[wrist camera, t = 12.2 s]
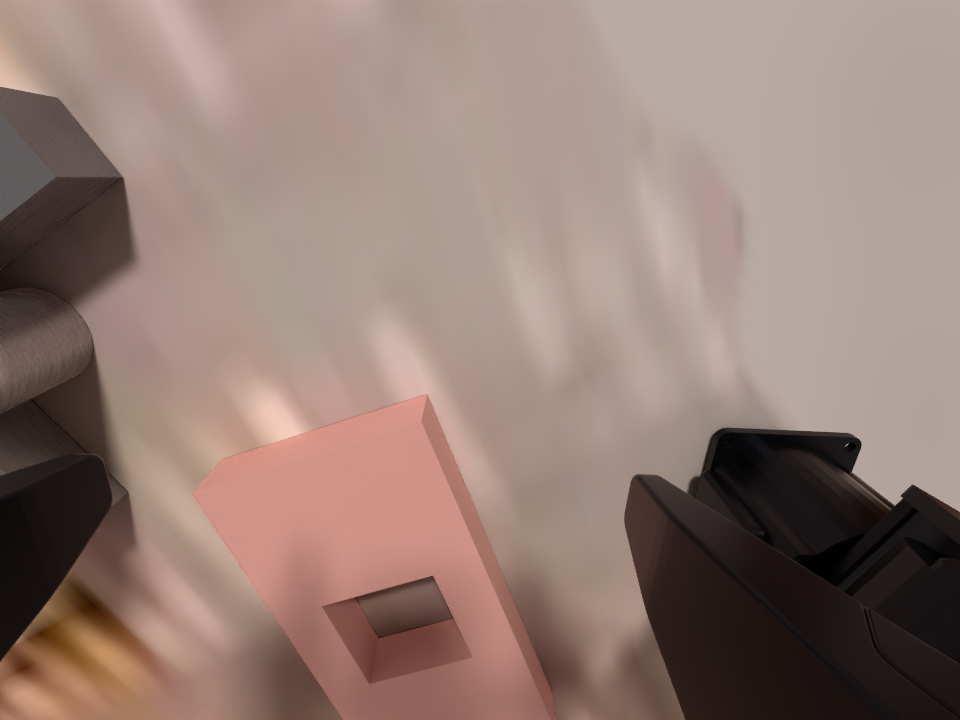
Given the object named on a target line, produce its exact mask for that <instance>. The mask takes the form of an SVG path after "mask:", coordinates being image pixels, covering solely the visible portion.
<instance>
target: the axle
mask: <svg viewBox="0 0 960 720" xmlns="http://www.w3.org/2000/svg"><path fill="white" fill-rule="evenodd" d="M92 354H93V342H92V337H91V334H90V331H89V329H88V327H87V325H86V323H85V321H84V320H83V318H82V317H81V316H80V315H79V313H78V312H77V311H76V310H75V309H74V308H73V307H72V306H71V305H70V304H68V303H67V302H66V301H64V300H63V299H61V298H60V297H58V296H56V295H54V294H52V293H50V292H47V291H44V290H41V289H36V288H27V287H23V288H15V289H11V290H7V291H3V292H0V414H1V413H3V412H5V411H7V410H9V409H11V408H13V407H15V406H17V405H19V404H21V403H23V402H25V401H27V400H29V399H31V398H33V397H35V396H37V395H39V394H41V393H43V392H45V391H47V390H49V389H51V388H53V387H55V386H57V385H59V384H61V383H63V382H65V381H67V380H69V379H71V378H73V377H75V376H77V375H79V374H80V373H82V372H83V371H84V370H85V369H86V368H87V366H88V365H89V363H90V361H91V358H92Z"/></svg>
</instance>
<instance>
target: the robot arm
mask: <svg viewBox="0 0 960 720" xmlns="http://www.w3.org/2000/svg"><path fill="white" fill-rule="evenodd" d="M728 437H730V439H729V440H728V441H727V442H724V443H723V441H724V439H726V438H728ZM848 443H849V444H848ZM846 444H848V445H847V446H846V447H845V445H846ZM861 445H862V444H861V441H860V440H859V439H858V438H856V437H855V436H853V435H852V434H849V433H835V432H812V431H789V430H766V429H743V428H722V429H720V430H718V431H717V432H716V433H715V435H714V437H713V440H712V444H711V448H710V452H709V456H708V460H707V464H706V467H705V471H704V472H703V473H702V475H701V477H700V481H699V485H698V489H697V493H696V497H695V498H694V497H692V496H690V495H689V494H687V493H686V492H684V491H682V490H681V489H679V488H678V487H676V486H674V485H673V484H671V483H670V482H668V481H667V480H665V479H663V478H662V477H660V476H658V475H645V474H637V475H635V476H634V477H633V478H632V480H631V484H630V489H629V494H628V499H627V504H626V509H625V516H624V521H625V528H626V533H627V537H628V541H629V545H630V549H631V553H632V557H633V561H634V565H635V569H636V573H637V577H638V581H639V585H640V589H641V594H642V598H643V601H644V605H645V609H646V612H647V615H648V618H649V621H650V624H651V627H652V629H653V632H654V635H655V638H656V640H657V643H658V646H659V649H660V651H661V654H662V657H663V659H664V662H665V665H666V668H667V670H668V673H669V676H670V679H671V681H672V684H673V687H674V690H675V692H676V695H677V698H678V701H679V703H680V706H681V709H682V712H683V714H684V717H685V720H960V512H959V511H957V510H955V509H954V508H952V507H950V506H949V505H947V504H945V503H943V502H942V501H940V500H938V499H937V498H935V497H933V496H931V495H930V494H928V493H927V492H925V491H923V490H921V489H919V488H918V487H916V486H915V485H911V486H910V487H909V488H908V489H907V490H906V491H905V492H904V493H903V494H902V495H901V497H903V499H902V500H901V501H900V502H899V503H898V504H896V505H895V506H894V505H893V504H892V503H891V502H889V501H888V500H887V499H885V498H884V497H883V496H882V495H880V494H879V493H877V492H876V491H875V490H874V489H873V488H871V487H870V486H869V485H867V484H866V483H865V482H864V481H862V480H861V479H860V478H858V477H857V476H856V475H855V474H853V473H852V470H853V467H854V465H855V462H856V459H857V457H858V454H859V452H860V449H861ZM112 501H113V494H112V490H111V486H110V482H109V478H108V474H107V471H106V467H105V463H104V460H103V459H102V458H101V457H100V456H99V455H97V454H86V453H70V454H66V455H63V456H60V457H57V458H54V459H51V460H47V461H44V462H41V463H38V464H35V465H32V466H29V467H26V468H23V469H20V470H16V471H13V472H10V473H7V474H4V475H1V476H0V662H1V660H2V659H3V658H4V657H5V655H6V654H7V653H8V652H9V650H10V649H11V648H12V647H13V645H14V644H15V643H16V641H17V640H18V639H19V638H20V636H21V635H22V634H23V633H24V631H25V630H26V629H27V628H28V626H29V625H30V624H31V623H32V621H33V620H34V619H35V618H36V616H37V615H38V614H39V613H40V611H41V610H42V609H43V607H44V606H45V605H46V603H47V602H48V601H49V599H50V598H51V597H52V596H53V594H54V593H55V591H56V590H57V588H58V587H59V586H60V584H61V583H62V581H63V580H64V578H65V577H66V575H67V574H68V572H69V571H70V569H71V568H72V566H73V565H74V563H75V562H76V560H77V559H78V557H79V556H80V554H81V553H82V551H83V550H84V548H85V547H86V545H87V544H88V542H89V541H90V539H91V537H92V536H93V534H94V533H95V531H96V530H97V528H98V527H99V525H100V524H101V522H102V521H103V519H104V518H105V516H106V515H107V513H108V512H109V510H110V508H111V505H112Z"/></svg>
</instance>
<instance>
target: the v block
mask: <svg viewBox="0 0 960 720" xmlns="http://www.w3.org/2000/svg"><path fill="white" fill-rule="evenodd" d="M121 178H122V176H121V174H120V173H119V172H118V171H117V170H116V168H115V167H114V166H113V165H112V163H111V162H110V161H109V160H108V159H107V157H106V156H105V155H104V154H103V152H102V151H101V150H100V149H99V148H98V146H97V145H96V144H95V143H94V141H93V140H92V139H91V138H90V137H89V135H88V134H87V133H86V132H85V130H84V129H83V128H82V127H81V126H80V124H79V123H78V122H77V121H76V120H75V118H74V117H73V116H72V115H71V113H70V112H69V111H68V110H67V109H66V107H65V106H64V105H63V104H62V102H61V101H60V100H59V99H58V98H56V97H51V96H46V95H40V94H35V93H30V92H25V91H19V90H14V89H9V88H4V87H0V271H1V270H2V269H3V268H4V267H6V266H7V265H8V264H10V263H11V262H12V261H14V260H15V259H16V258H18V257H19V256H20V255H21V254H23V253H24V252H25V251H27V250H28V249H29V248H31V247H32V246H33V245H35V244H36V243H37V242H38V241H40V240H41V239H42V238H44V237H45V236H46V235H48V234H49V233H50V232H52V231H53V230H54V229H56V228H57V227H58V226H59V225H61V224H62V223H63V222H65V221H66V220H67V219H69V218H70V217H71V216H73V215H74V214H75V213H76V212H78V211H79V210H80V209H82V208H83V207H84V206H86V205H87V204H88V203H90V202H91V201H92V200H93V199H95V198H96V197H97V196H99V195H100V194H101V193H103V192H104V191H105V190H107V189H108V188H109V187H110V186H112V185H113V184H114V183H116V182H117V181H118V180H120V179H121ZM70 453H86V452H85V451H84V450H83V449H82V448H81V447H80V446H79V445H78V444H77V443H76V442H75V441H74V440H73V439H71V438H70V437H69V436H68V435H67V434H66V433H65V432H64V431H63V430H62V429H61V428H60V427H59V426H58V425H57V424H56V423H55V422H54V421H53V420H52V419H51V418H49V417H48V416H47V415H46V414H45V413H44V412H43V411H42V410H41V409H40V408H39V407H38V406H37V405H36V404H35V403H34V402H33V401H32V400H31V399H29V400H27V401H25V402H23V403H21V404H19V405H17V406H15V407H13V408H11V409H9V410H7V411H5V412H3V413H1V414H0V476H1V475H4V474H7V473H10V472H13V471H16V470H20V469H23V468H26V467H29V466H32V465H35V464H38V463H41V462H44V461H47V460H51V459H54V458H57V457H60V456H63V455H66V454H70ZM86 454H87V453H86ZM107 474H108V473H107ZM108 478H109V482H110V486H111V490H112V494H113V501H112V505H111V507H112V506H113V505H114V504H115V503H117V502H118V501H119V500H120V499H121V498H122V497H123V496H124V495H125V494H126V493H128V492H127V491H126V490H125V489H124V488H123V487H122V486H121V485H120V484H119V483H118V482H117V481H116V480H115V479H113V478H112V477H111V476H110V475H109V474H108Z"/></svg>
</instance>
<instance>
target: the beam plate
mask: <svg viewBox="0 0 960 720" xmlns="http://www.w3.org/2000/svg"><path fill="white" fill-rule="evenodd" d="M192 495H193V496H194V498H195V499H196V501H197V502H198V504H199V505H200V507H201V508H202V510H203V511H204V513H205V514H206V516H207V517H208V519H209V520H210V522H211V523H212V525H213V526H214V528H215V529H216V531H217V532H218V534H219V535H220V537H221V538H222V540H223V541H224V543H225V544H226V546H227V547H228V549H229V550H230V552H231V553H232V555H233V556H234V558H235V559H236V561H237V562H238V564H239V565H240V567H241V568H242V570H243V571H244V573H245V574H246V576H247V577H248V579H249V580H250V582H251V583H252V585H253V586H254V587H255V589H256V590H257V592H258V593H259V595H260V596H261V598H262V599H263V601H264V602H265V604H266V605H267V607H268V608H269V610H270V611H271V613H272V614H273V616H274V617H275V619H276V620H277V622H278V623H279V625H280V626H281V628H282V629H283V631H284V632H285V634H286V635H287V637H288V638H289V640H290V641H291V643H292V644H293V646H294V647H295V649H296V650H297V652H298V653H299V655H300V656H301V658H302V659H303V661H304V662H305V664H306V665H307V667H308V668H309V670H310V671H311V673H312V674H313V676H314V677H315V679H316V680H317V682H318V683H319V685H320V686H321V688H322V689H323V691H324V692H325V694H326V695H327V697H328V698H329V700H330V701H331V703H332V704H333V706H334V707H335V709H336V710H337V712H338V713H339V715H340V716H341V718H342V719H343V720H556V714H555V707H554V701H553V694H552V691H551V688H550V686H549V684H548V681H547V679H546V676H545V674H544V672H543V669H542V667H541V664H540V662H539V660H538V657H537V655H536V653H535V650H534V648H533V645H532V643H531V641H530V638H529V636H528V633H527V631H526V629H525V626H524V624H523V622H522V619H521V617H520V614H519V612H518V610H517V607H516V605H515V602H514V600H513V598H512V595H511V593H510V591H509V588H508V586H507V583H506V581H505V579H504V576H503V574H502V571H501V569H500V567H499V564H498V562H497V560H496V557H495V555H494V552H493V550H492V548H491V545H490V543H489V540H488V538H487V536H486V533H485V531H484V529H483V526H482V524H481V521H480V519H479V517H478V514H477V512H476V509H475V507H474V505H473V502H472V500H471V497H470V495H469V493H468V490H467V488H466V486H465V483H464V481H463V478H462V476H461V474H460V471H459V469H458V466H457V464H456V462H455V459H454V457H453V455H452V452H451V450H450V447H449V445H448V443H447V440H446V438H445V435H444V433H443V431H442V428H441V426H440V424H439V421H438V419H437V416H436V414H435V412H434V409H433V407H432V404H431V402H430V400H429V397H428V395H427V394H426V395H423V396H420V397H417V398H414V399H411V400H407V401H404V402H401V403H398V404H395V405H392V406H389V407H385V408H382V409H379V410H376V411H373V412H370V413H367V414H364V415H360V416H357V417H354V418H351V419H348V420H345V421H342V422H338V423H335V424H332V425H329V426H326V427H323V428H320V429H317V430H313V431H310V432H307V433H304V434H301V435H298V436H295V437H291V438H288V439H285V440H282V441H279V442H276V443H273V444H270V445H266V446H263V447H260V448H257V449H254V450H251V451H248V452H245V453H241V454H238V455H235V456H232V457H229V458H226V459H223V460H221V461H220V462H219V463H218V465H217V466H216V467H215V468H214V469H213V470H212V471H211V472H210V474H209V475H208V476H207V477H206V478H205V479H204V480H203V481H202V483H201V484H200V485H199V486H198V487H197V488H196V489H195V490H194V492H193V493H192ZM429 576H433V577H434V579H435V581H436V583H437V585H438V587H439V589H440V591H441V593H442V595H443V597H444V599H445V601H446V603H447V605H448V607H449V609H450V612H451V614H452V616H453V618H454V619H450V620H446V621H442V622H439V623H435V624H431V625H427V626H424V627H420V628H416V629H412V630H409V631H405V632H401V633H397V634H393V635H390V636H386V637H382V638H378V637H377V635H376V633H375V631H374V630H373V628H372V626H371V624H370V623H369V621H368V619H367V618H366V616H365V614H364V612H363V611H362V609H361V607H360V605H359V604H358V602H357V600H356V598H355V597H357V596H361V595H364V594H368V593H372V592H375V591H379V590H382V589H386V588H390V587H393V586H397V585H400V584H404V583H408V582H411V581H415V580H418V579H422V578H426V577H429Z"/></svg>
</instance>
